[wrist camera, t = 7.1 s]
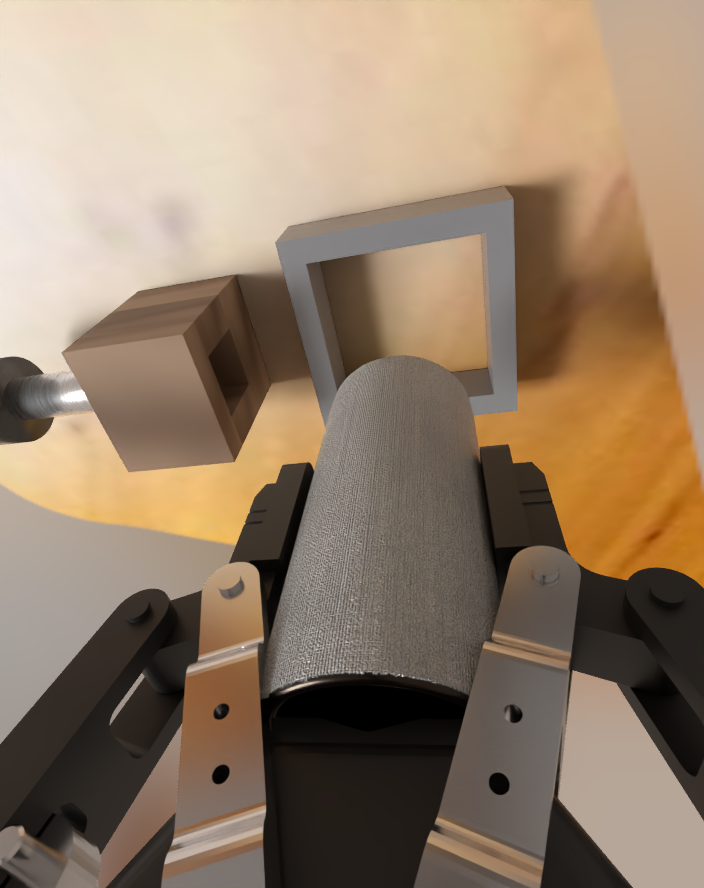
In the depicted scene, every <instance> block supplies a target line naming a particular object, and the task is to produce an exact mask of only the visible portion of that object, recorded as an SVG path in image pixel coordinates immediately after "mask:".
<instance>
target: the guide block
mask: <svg viewBox="0 0 704 888" xmlns="http://www.w3.org/2000/svg"><path fill="white" fill-rule="evenodd" d="M62 355H63V356H64V358H65V360H66V362H67V364H68V365H69V367H70V369H71V371H72V372H73V374H74V376H75V378H76V380H77V381H78V383H79V385H80V387H81V388H82V390H83V392H84V394H85V396H86V397H87V399H88V401H89V403H90V404H91V406H92V408H93V410H94V412H95V413H96V415H97V417H98V419H99V420H100V422H101V424H102V426H103V428H104V429H105V431H106V433H107V435H108V436H109V438H110V440H111V442H112V444H113V445H114V447H115V449H116V451H117V452H118V454H119V456H120V458H121V460H122V461H123V463H124V465H125V467H126V468H127V470H128V472H136V471H146V470H156V469H167V468H177V467H188V466H198V465H209V464H219V463H229V462H235V460H236V458H237V456H238V454H239V451H240V449H241V447H242V445H243V443H244V441H245V439H246V437H247V434H248V432H249V430H250V428H251V426H252V424H253V422H254V420H255V417H256V415H257V413H258V411H259V409H260V407H261V405H262V403H263V400H264V398H265V396H266V394H267V392H268V390H269V388H270V386H271V383H270V380H269V377H268V374H267V370H266V367H265V364H264V361H263V358H262V355H261V352H260V349H259V346H258V343H257V340H256V336H255V333H254V330H253V327H252V324H251V321H250V318H249V315H248V312H247V309H246V306H245V303H244V299H243V296H242V293H241V290H240V287H239V284H238V281H237V278H236V275H231V276H225V277H219V278H213V279H208V280H202V281H196V282H190V283H185V284H179V285H173V286H167V287H161V288H156V289H150V290H144V291H138V292H137V293H136V294H135V295H133V296H132V297H131V298H130V299H128V300H127V301H126V302H125V303H123V304H122V305H121V306H120V307H118V308H117V309H116V310H114V311H113V312H112V313H111V314H109V315H108V316H107V317H106V318H104V319H103V320H102V321H101V322H99V323H98V324H97V325H96V326H94V327H93V328H92V329H91V330H89V331H88V332H87V333H86V334H84V335H83V336H82V337H81V338H79V339H78V340H77V341H76V342H74V343H73V344H72V345H71V346H69V347H68V348H67V349H66V350H64V351H63V352H62Z"/></svg>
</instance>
